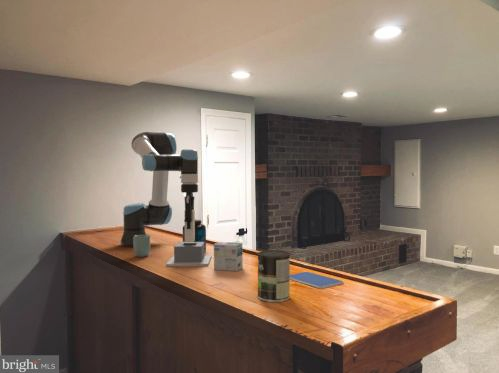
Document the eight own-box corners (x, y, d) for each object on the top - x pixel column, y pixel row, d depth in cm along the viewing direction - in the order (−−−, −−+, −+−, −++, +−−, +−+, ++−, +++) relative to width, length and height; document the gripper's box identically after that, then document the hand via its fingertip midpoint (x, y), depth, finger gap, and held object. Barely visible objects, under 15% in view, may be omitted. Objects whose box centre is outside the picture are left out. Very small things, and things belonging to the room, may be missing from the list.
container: (178, 252, 196) (178, 221, 195) (190, 249, 207) (190, 218, 206) (198, 254, 191) (198, 222, 191) (210, 250, 202) (210, 219, 202)
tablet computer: (283, 278, 147) (283, 275, 147) (307, 274, 154) (307, 270, 154) (320, 290, 131) (320, 287, 131) (344, 284, 139) (344, 281, 139)
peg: (186, 240, 177) (185, 209, 176) (194, 240, 177) (194, 209, 176) (184, 241, 173) (184, 210, 172) (193, 241, 173) (193, 210, 172)
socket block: (173, 257, 184) (173, 241, 184) (211, 257, 184) (211, 240, 184) (165, 266, 166) (165, 247, 166) (207, 266, 166) (207, 247, 166)
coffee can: (259, 303, 117) (259, 256, 117) (256, 293, 127) (255, 250, 127) (293, 302, 118) (293, 256, 117) (286, 292, 128) (286, 249, 128)
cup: (145, 258, 183) (145, 237, 183) (130, 257, 185) (130, 236, 184) (153, 255, 191) (152, 234, 190) (138, 254, 192) (138, 234, 192)
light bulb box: (243, 268, 163) (243, 242, 162) (237, 271, 156) (237, 245, 156) (219, 266, 166) (219, 241, 166) (213, 269, 160) (213, 243, 160)
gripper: (184, 183, 183) (184, 232, 183) (177, 183, 166) (178, 238, 166) (199, 183, 183) (200, 232, 183) (195, 183, 166) (195, 238, 166)
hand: (189, 235), depth 175 cm, fingers closed on peg, 4 cm apart
